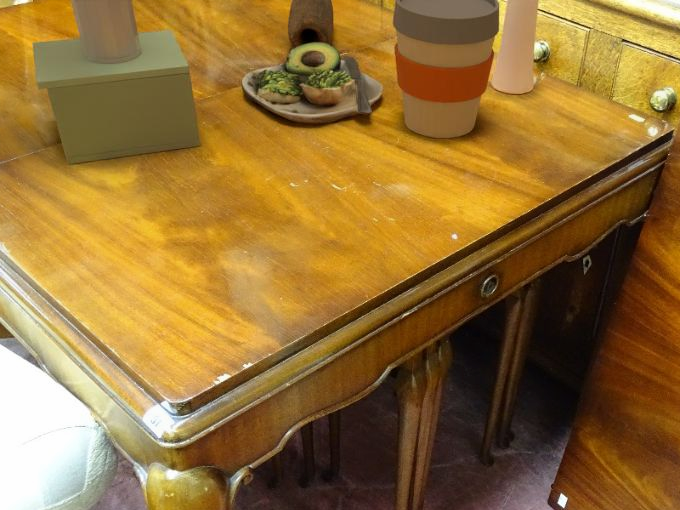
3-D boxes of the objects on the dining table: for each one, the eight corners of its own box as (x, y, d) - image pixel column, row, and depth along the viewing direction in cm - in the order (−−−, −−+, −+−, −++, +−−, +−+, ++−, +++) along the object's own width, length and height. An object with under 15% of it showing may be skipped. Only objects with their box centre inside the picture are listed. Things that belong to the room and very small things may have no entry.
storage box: (67, 164, 86) (46, 88, 80) (61, 120, 94) (41, 48, 88) (200, 146, 91) (190, 73, 85) (183, 105, 99) (172, 36, 93)
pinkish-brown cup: (76, 62, 84) (51, -36, 77) (96, 42, 88) (74, -52, 82) (131, 65, 84) (111, -32, 77) (148, 45, 88) (131, -49, 82)
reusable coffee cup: (370, 119, 98) (370, -3, 89) (438, 93, 105) (445, -22, 96) (441, 155, 92) (449, 27, 82) (508, 125, 99) (524, 4, 89)
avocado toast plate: (420, 111, 101) (421, 77, 98) (300, 144, 92) (298, 108, 89) (340, 62, 112) (339, 30, 109) (227, 87, 103) (223, 53, 101)
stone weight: (288, 24, 123) (285, -19, 119) (332, 24, 124) (331, -19, 120) (289, 61, 112) (286, 13, 107) (338, 60, 113) (337, 13, 108)
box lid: (38, 89, 80) (36, 82, 79) (34, 49, 88) (32, 42, 87) (189, 72, 85) (188, 65, 84) (172, 36, 93) (171, 29, 93)
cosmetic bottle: (490, 92, 106) (510, -83, 92) (490, 75, 111) (508, -94, 97) (534, 96, 106) (560, -79, 92) (532, 78, 111) (556, -91, 97)
